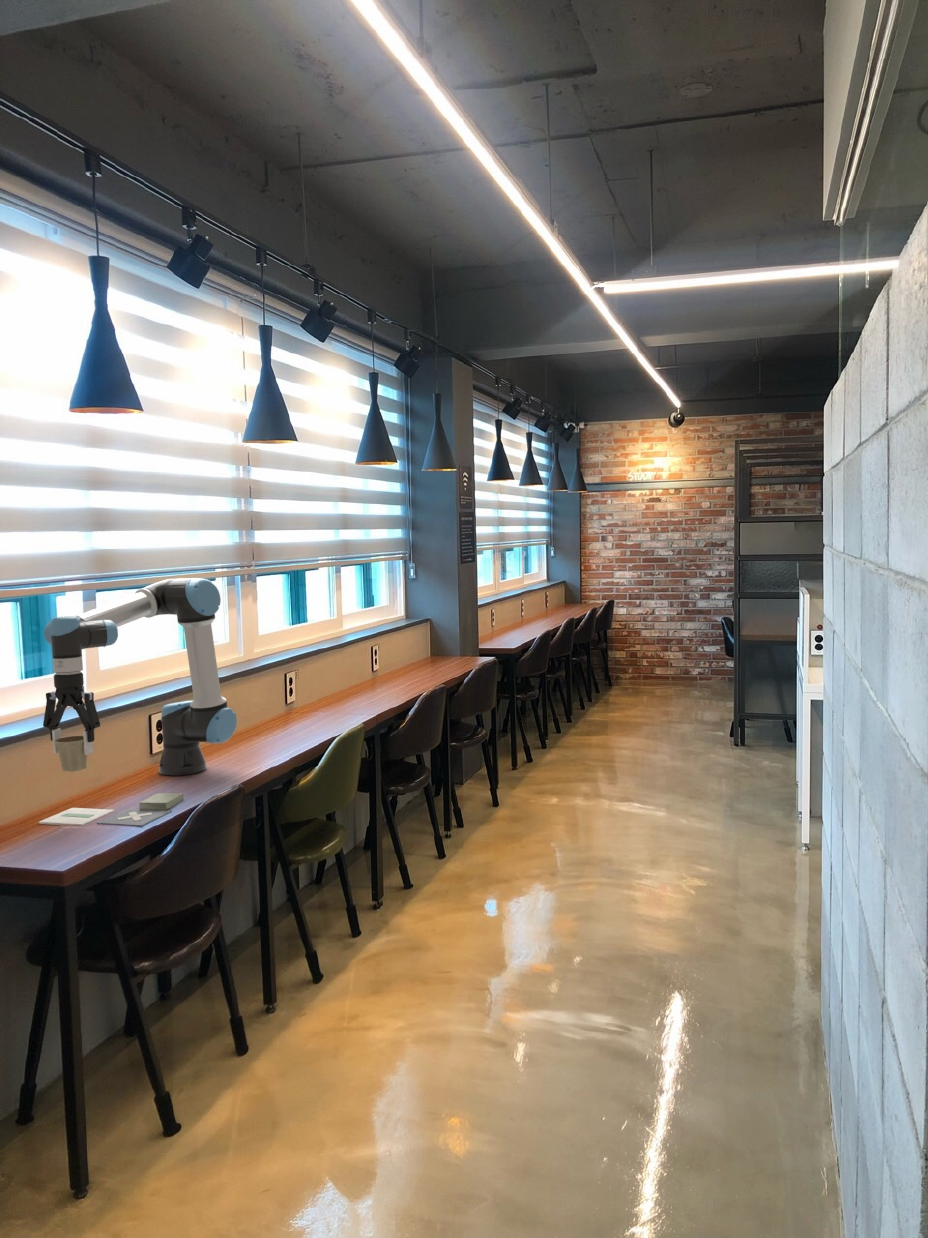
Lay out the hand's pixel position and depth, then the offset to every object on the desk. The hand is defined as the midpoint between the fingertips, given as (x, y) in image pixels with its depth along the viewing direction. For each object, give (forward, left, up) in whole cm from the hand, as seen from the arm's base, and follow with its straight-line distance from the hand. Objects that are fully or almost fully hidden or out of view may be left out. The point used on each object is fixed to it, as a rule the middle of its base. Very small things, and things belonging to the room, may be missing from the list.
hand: (73, 753), depth 263 cm
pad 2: (-2, +17, -18) cm, 25 cm away
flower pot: (0, 0, -5) cm, 5 cm away
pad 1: (0, 0, -18) cm, 18 cm away
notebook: (-15, +17, -18) cm, 29 cm away
